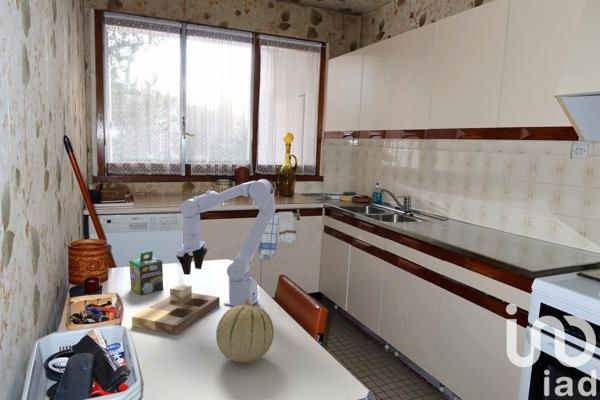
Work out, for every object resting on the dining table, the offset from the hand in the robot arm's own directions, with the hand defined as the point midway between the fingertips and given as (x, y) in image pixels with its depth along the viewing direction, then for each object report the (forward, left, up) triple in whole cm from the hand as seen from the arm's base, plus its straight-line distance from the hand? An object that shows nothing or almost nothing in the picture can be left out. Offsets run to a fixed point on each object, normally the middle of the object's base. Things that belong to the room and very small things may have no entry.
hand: (192, 271), depth 149 cm
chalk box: (+22, -2, -11) cm, 24 cm away
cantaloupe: (-36, +30, -11) cm, 48 cm away
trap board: (-3, +13, -10) cm, 17 cm away
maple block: (0, +7, -7) cm, 10 cm away
